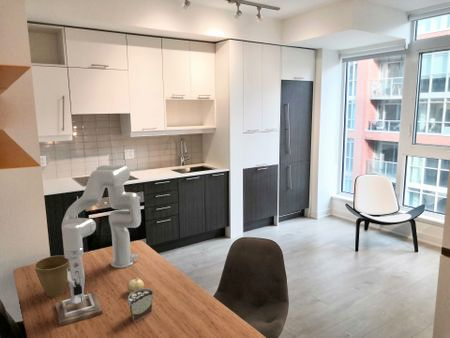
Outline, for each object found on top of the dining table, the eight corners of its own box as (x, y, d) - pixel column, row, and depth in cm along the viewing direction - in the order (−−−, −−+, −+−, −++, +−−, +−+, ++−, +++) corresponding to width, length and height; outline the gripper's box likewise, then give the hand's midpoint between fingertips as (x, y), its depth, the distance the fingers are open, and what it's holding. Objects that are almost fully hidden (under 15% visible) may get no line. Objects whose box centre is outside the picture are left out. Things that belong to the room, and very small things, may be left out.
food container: (145, 305, 154) (144, 285, 153) (154, 310, 151) (153, 289, 149) (122, 318, 145) (121, 296, 143) (131, 324, 141) (129, 301, 139)
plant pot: (41, 287, 170) (38, 257, 167) (73, 283, 175) (71, 253, 172) (34, 303, 156) (31, 271, 153) (70, 298, 161) (67, 266, 158)
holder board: (95, 295, 163) (95, 289, 162) (102, 313, 148) (102, 307, 148) (56, 305, 155) (55, 299, 154) (59, 326, 140) (58, 319, 140)
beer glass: (80, 305, 147) (77, 272, 144) (65, 303, 148) (62, 271, 145) (89, 296, 153) (87, 265, 151) (75, 295, 155) (73, 264, 152)
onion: (141, 296, 162) (140, 283, 161) (124, 296, 162) (124, 282, 161) (146, 288, 170) (145, 274, 168) (130, 287, 170) (129, 274, 169)
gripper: (86, 257, 141) (89, 297, 144) (80, 243, 156) (83, 280, 159) (66, 261, 138) (70, 302, 141) (62, 247, 152) (65, 284, 155)
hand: (77, 290), depth 150 cm, fingers closed on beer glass, 6 cm apart
